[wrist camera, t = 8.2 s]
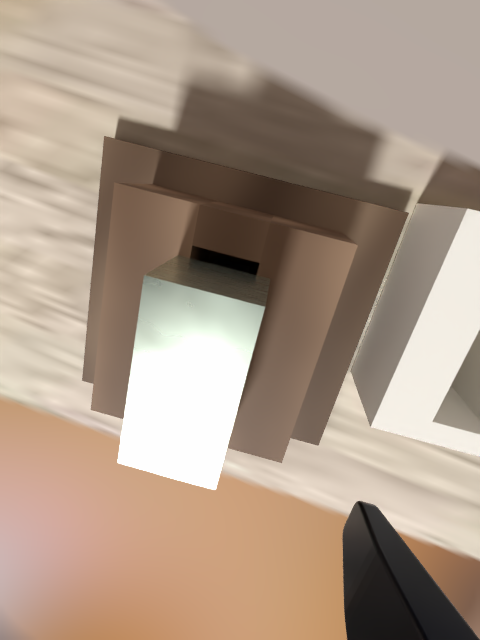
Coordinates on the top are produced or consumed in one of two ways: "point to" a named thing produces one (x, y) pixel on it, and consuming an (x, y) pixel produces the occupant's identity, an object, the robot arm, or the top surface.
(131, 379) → the pale grey block
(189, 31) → the top surface
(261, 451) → the channel mount plate
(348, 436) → the top surface
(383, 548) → the robot arm
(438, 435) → the holder
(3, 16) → the top surface
